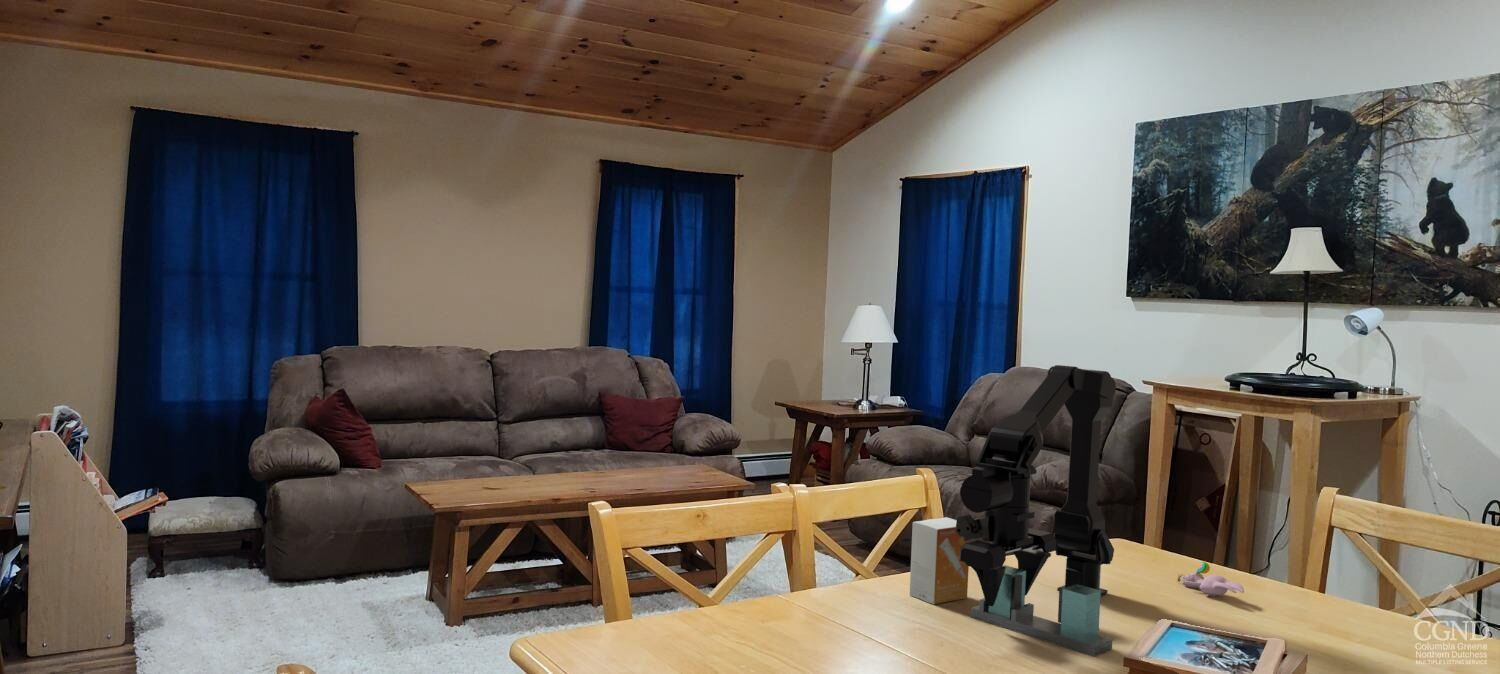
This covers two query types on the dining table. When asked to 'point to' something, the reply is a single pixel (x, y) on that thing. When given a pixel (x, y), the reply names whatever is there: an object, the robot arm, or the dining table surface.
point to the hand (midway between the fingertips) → (1006, 600)
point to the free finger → (1010, 592)
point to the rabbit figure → (1209, 582)
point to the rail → (1073, 614)
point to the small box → (937, 562)
